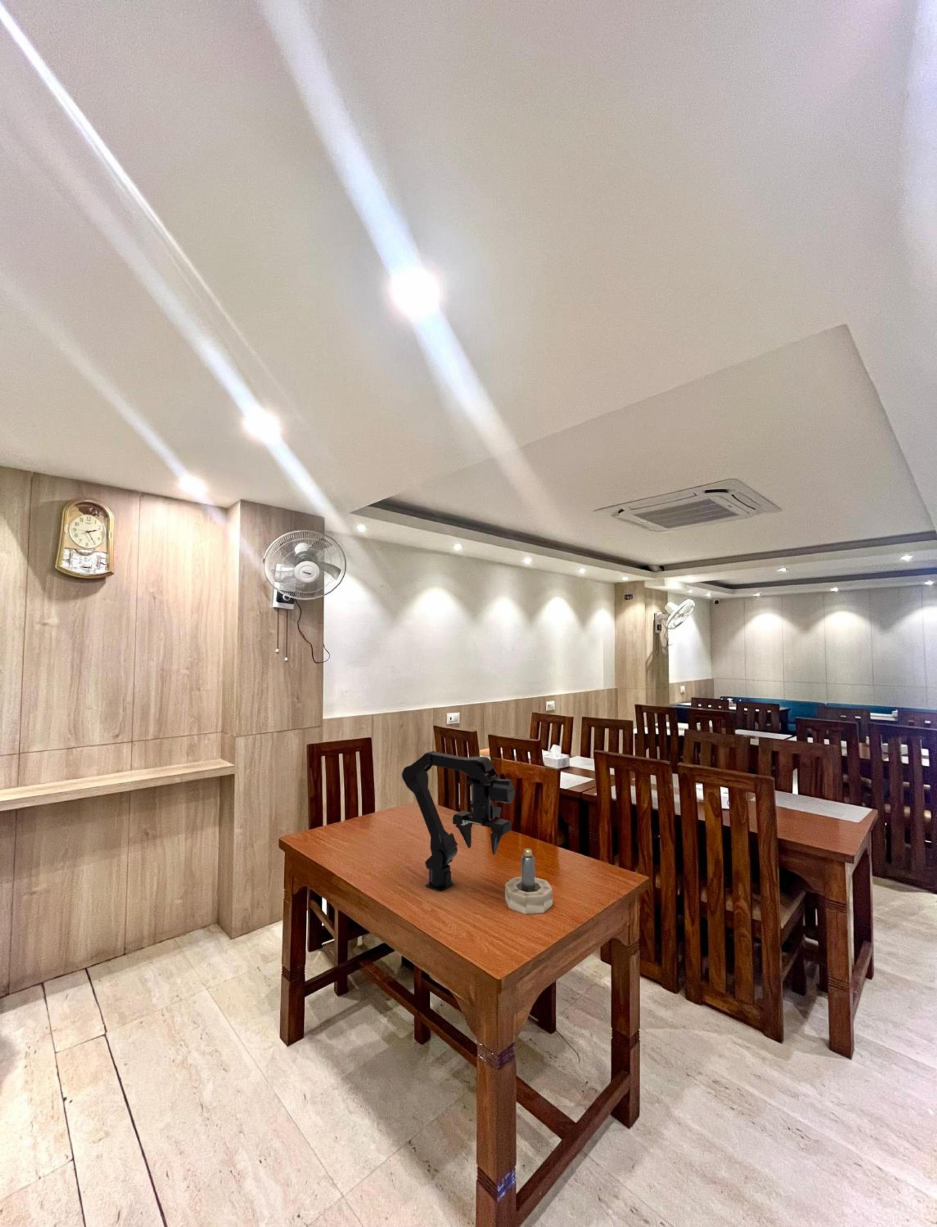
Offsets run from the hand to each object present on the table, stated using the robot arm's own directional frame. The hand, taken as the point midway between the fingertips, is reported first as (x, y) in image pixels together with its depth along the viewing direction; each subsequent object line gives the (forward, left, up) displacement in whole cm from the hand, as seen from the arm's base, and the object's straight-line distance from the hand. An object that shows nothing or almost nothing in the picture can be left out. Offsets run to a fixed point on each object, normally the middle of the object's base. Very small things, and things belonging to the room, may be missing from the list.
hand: (481, 850), depth 155 cm
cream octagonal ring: (+14, +4, -13) cm, 20 cm away
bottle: (+14, +4, -13) cm, 19 cm away
